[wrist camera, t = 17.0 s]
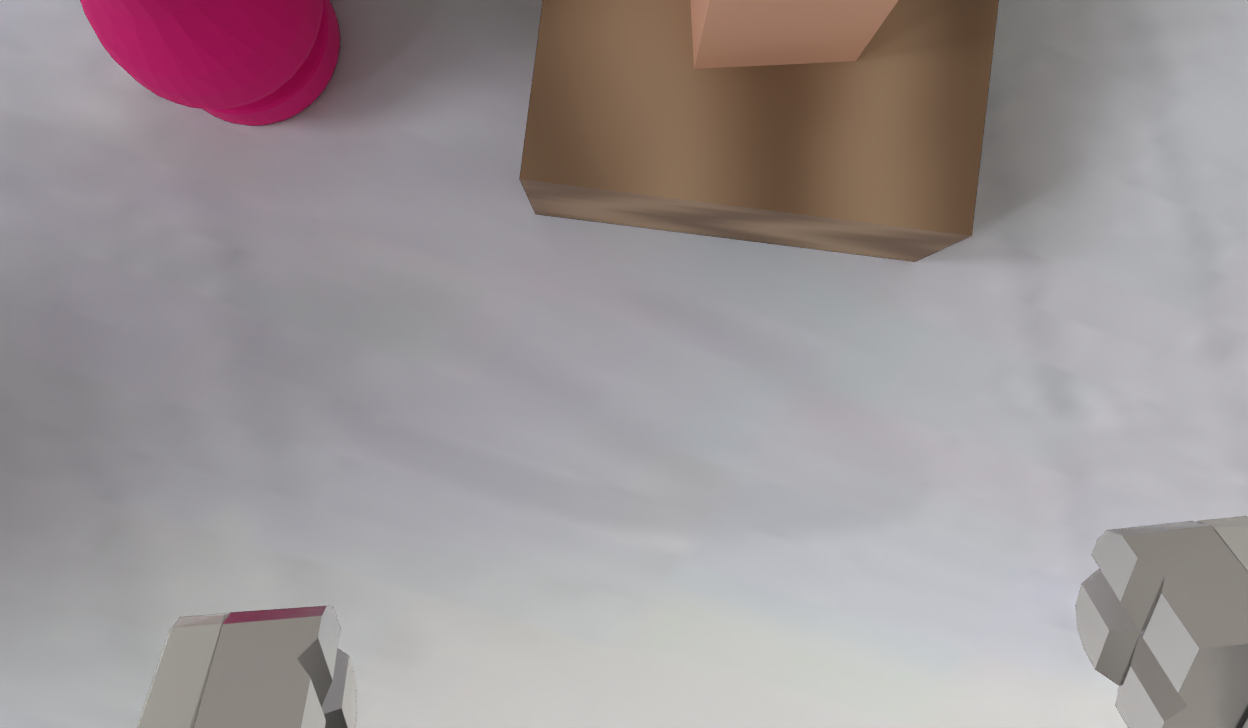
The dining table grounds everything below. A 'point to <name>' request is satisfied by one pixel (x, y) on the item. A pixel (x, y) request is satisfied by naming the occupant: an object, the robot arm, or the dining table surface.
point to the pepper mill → (224, 52)
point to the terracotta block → (783, 31)
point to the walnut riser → (762, 130)
